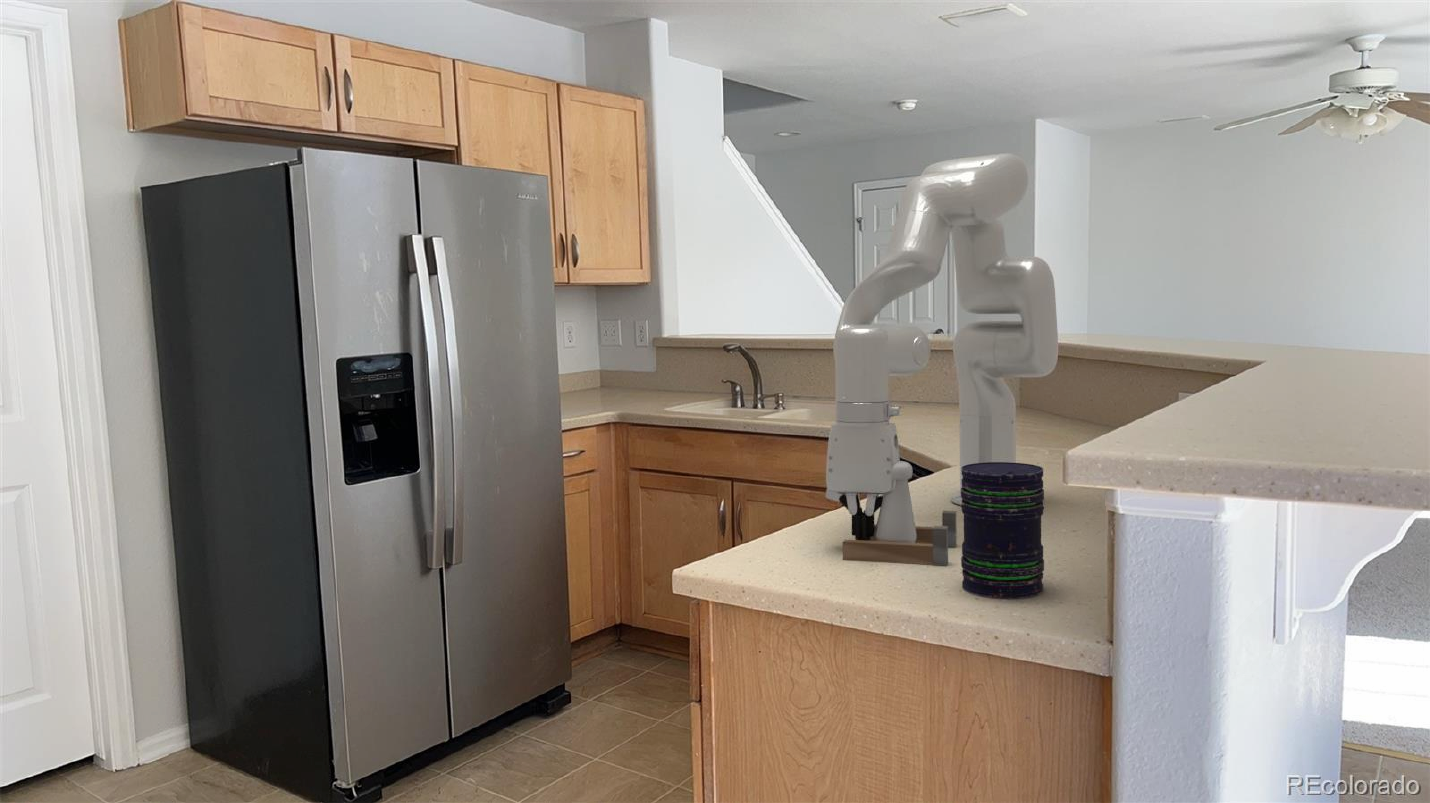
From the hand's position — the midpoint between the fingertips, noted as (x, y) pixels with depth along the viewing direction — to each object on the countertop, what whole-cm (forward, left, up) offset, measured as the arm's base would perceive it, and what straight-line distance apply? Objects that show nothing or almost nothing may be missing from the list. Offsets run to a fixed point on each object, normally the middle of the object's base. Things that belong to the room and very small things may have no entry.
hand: (863, 540), depth 145 cm
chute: (-1, +5, -2) cm, 5 cm away
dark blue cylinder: (+14, +20, -2) cm, 25 cm away
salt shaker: (0, +5, -2) cm, 5 cm away
